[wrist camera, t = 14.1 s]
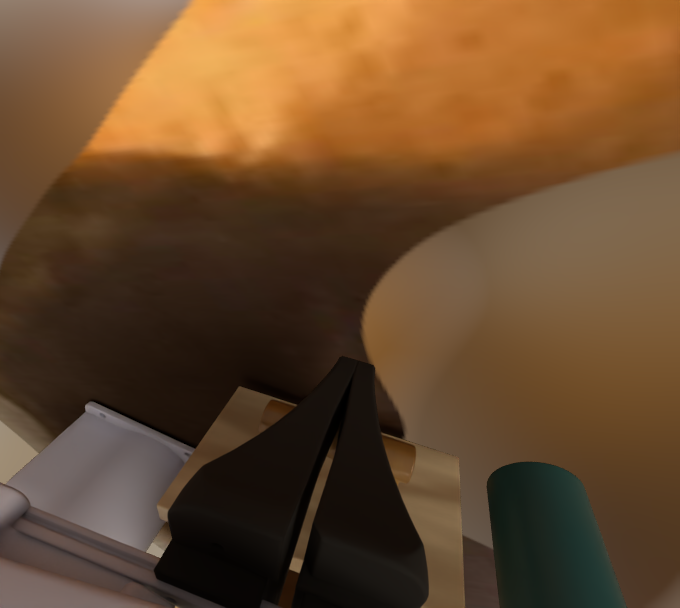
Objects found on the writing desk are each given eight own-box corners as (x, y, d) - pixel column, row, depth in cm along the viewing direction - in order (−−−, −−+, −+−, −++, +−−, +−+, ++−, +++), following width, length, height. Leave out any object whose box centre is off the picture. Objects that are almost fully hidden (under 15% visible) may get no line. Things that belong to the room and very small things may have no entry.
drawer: (239, 326, 17) (138, 442, 11) (492, 403, 16) (519, 579, 10) (239, 505, 27) (185, 614, 21) (394, 562, 25) (380, 697, 20)
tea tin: (471, 497, 21) (484, 687, 14) (507, 448, 18) (543, 656, 11) (557, 526, 20) (613, 739, 13) (608, 480, 17) (709, 719, 11)
